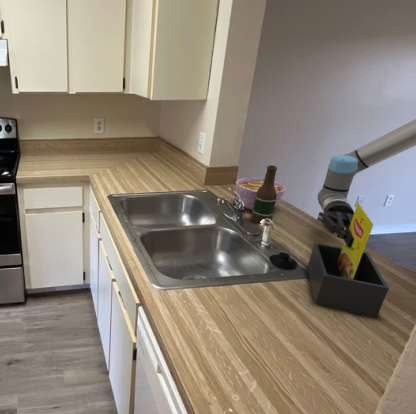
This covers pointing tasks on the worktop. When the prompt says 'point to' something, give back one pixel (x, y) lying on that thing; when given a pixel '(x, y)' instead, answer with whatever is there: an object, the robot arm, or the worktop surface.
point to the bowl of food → (255, 190)
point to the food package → (355, 243)
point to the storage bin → (345, 282)
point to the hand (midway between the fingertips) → (355, 243)
